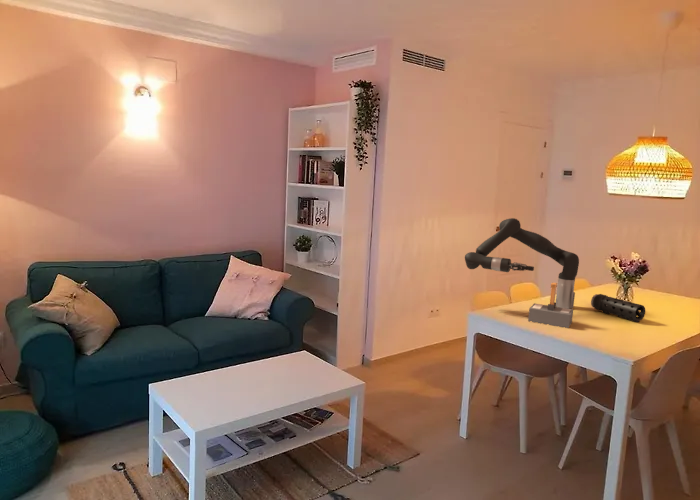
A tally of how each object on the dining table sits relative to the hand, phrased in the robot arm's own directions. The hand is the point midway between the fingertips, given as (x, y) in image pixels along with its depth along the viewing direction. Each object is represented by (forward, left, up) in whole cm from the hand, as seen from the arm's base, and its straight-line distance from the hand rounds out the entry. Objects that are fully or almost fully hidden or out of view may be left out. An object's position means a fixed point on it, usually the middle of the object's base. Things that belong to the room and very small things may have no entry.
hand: (533, 268), depth 277 cm
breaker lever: (-8, +7, -19) cm, 22 cm away
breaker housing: (-8, +7, -27) cm, 29 cm away
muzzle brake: (-56, -3, -28) cm, 63 cm away
